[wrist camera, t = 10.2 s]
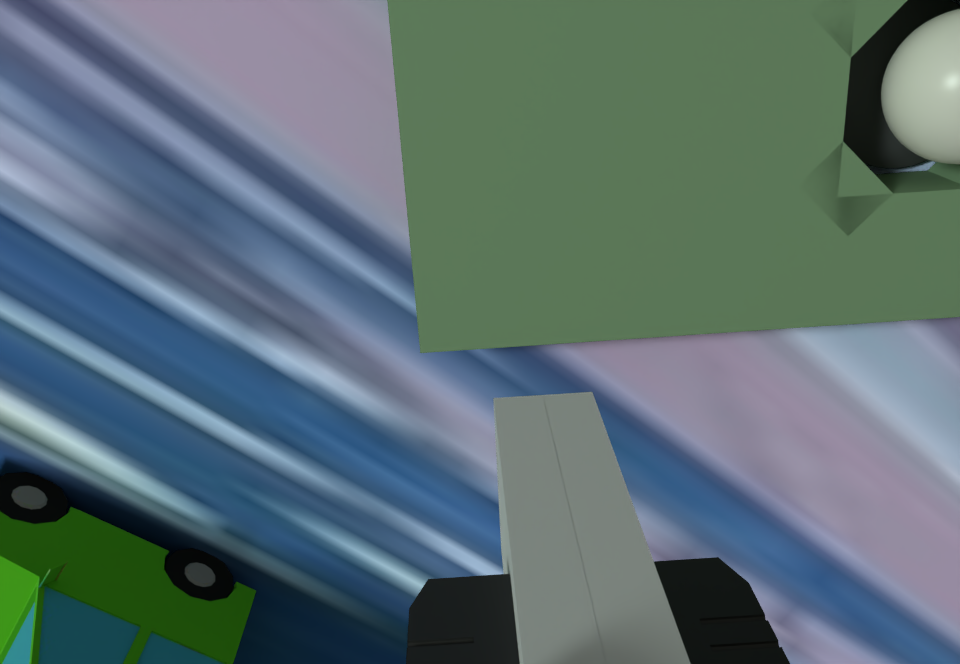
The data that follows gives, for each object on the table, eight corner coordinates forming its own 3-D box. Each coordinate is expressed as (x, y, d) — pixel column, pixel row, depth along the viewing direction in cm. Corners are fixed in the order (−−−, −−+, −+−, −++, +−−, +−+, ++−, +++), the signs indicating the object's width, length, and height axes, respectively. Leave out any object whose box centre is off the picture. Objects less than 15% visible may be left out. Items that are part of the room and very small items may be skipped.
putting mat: (1029, 282, 35) (1079, 308, 32) (423, 322, 35) (420, 352, 32) (1113, -181, 29) (1184, -198, 26) (381, -133, 29) (374, -146, 26)
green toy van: (-22, 419, 36) (-187, 573, 27) (272, 556, 39) (216, 738, 30) (-103, 596, 39) (-276, 789, 30) (175, 711, 42) (96, 919, 33)
